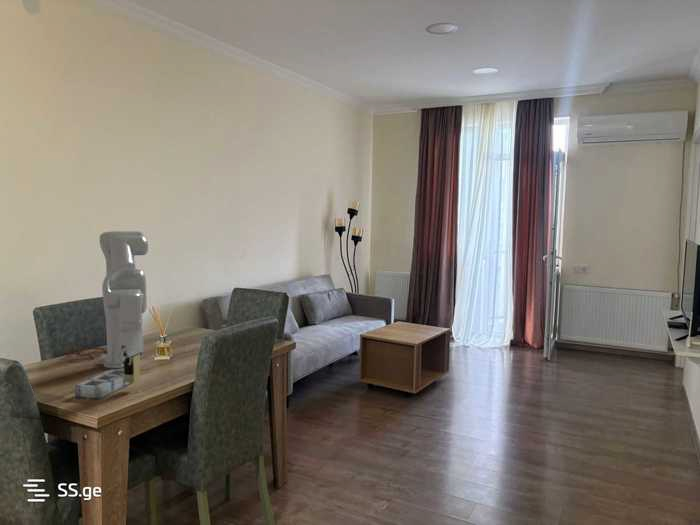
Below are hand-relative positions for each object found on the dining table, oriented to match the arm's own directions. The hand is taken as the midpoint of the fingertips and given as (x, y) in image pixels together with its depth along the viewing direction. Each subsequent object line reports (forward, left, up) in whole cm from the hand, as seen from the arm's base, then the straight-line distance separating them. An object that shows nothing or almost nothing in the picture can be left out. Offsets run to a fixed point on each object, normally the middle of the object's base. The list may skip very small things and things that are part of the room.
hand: (132, 372), depth 199 cm
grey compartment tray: (-11, 0, -7) cm, 13 cm away
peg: (0, 0, -3) cm, 3 cm away
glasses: (-51, +42, -8) cm, 66 cm away
